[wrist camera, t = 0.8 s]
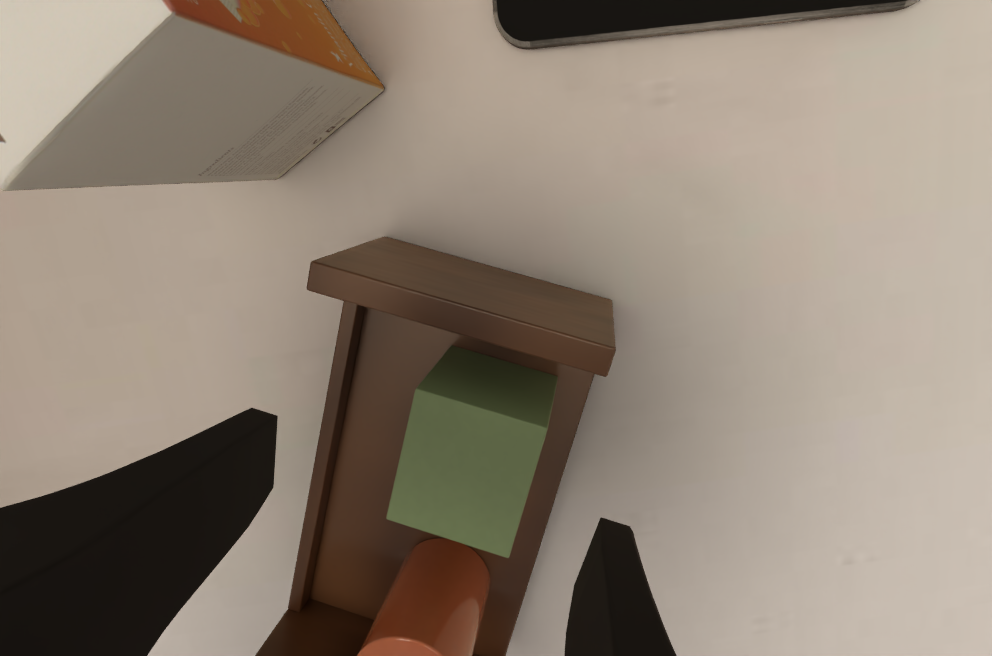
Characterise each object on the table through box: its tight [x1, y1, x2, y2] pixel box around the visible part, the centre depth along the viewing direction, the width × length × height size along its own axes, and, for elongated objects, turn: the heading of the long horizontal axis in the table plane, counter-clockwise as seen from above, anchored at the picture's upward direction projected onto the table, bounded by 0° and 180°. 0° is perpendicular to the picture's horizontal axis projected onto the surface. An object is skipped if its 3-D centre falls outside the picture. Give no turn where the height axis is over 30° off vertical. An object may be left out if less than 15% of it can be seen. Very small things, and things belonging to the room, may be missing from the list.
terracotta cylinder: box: [357, 538, 490, 656], centre depth 25 cm, size 4×4×6 cm
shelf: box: [255, 237, 616, 656], centre depth 25 cm, size 10×18×7 cm, turn 166°
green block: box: [386, 346, 558, 558], centre depth 23 cm, size 5×4×5 cm
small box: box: [0, 0, 384, 191], centre depth 19 cm, size 8×6×13 cm
